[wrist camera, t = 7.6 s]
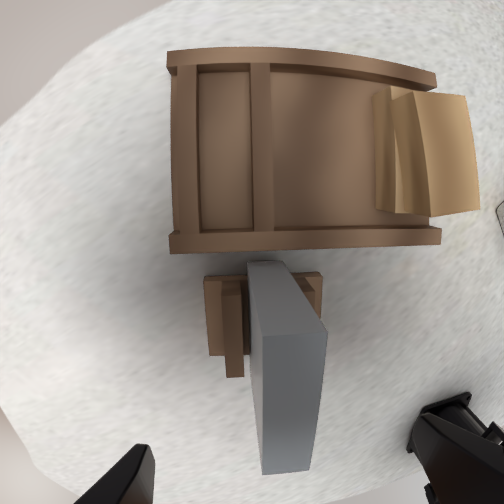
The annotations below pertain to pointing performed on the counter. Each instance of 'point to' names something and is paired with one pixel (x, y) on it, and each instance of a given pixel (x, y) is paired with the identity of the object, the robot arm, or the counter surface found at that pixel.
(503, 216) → the skincare box
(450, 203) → the offcut
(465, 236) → the counter surface
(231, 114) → the rack
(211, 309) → the stand
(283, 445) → the gray rectangular block
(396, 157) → the offcut
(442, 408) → the robot arm
